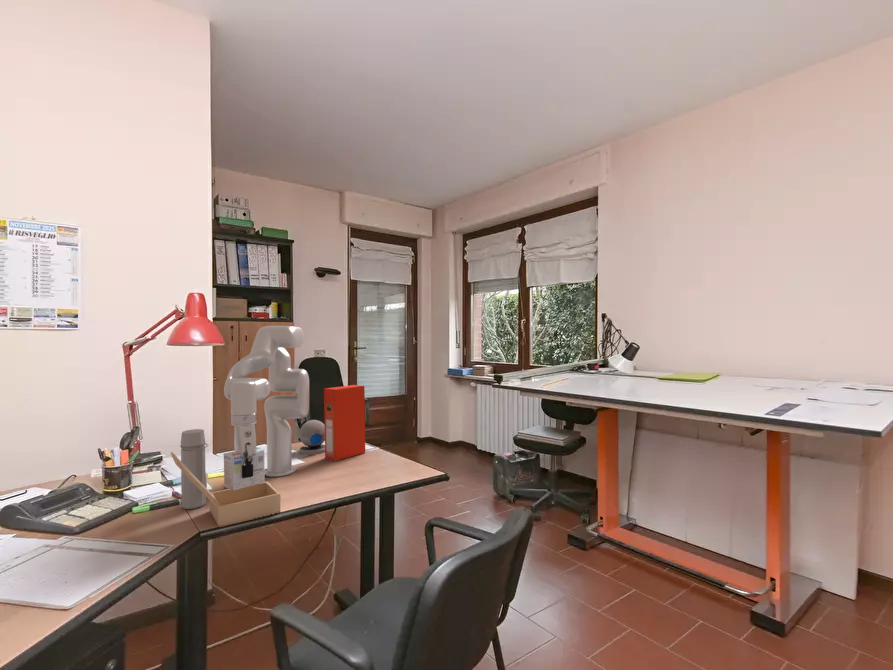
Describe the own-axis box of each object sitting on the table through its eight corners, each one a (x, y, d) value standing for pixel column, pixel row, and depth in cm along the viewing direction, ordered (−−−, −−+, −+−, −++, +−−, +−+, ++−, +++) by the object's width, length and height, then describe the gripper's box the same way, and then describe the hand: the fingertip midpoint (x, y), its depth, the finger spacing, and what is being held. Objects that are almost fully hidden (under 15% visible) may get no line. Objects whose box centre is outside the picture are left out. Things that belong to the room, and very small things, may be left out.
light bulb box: (255, 478, 151) (255, 446, 151) (265, 482, 147) (265, 449, 147) (222, 486, 143) (222, 452, 143) (232, 491, 139) (232, 456, 139)
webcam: (323, 446, 228) (323, 416, 228) (330, 452, 217) (330, 421, 216) (297, 449, 221) (296, 419, 221) (302, 456, 210) (302, 424, 210)
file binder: (324, 458, 206) (324, 388, 206) (354, 450, 220) (353, 384, 219) (335, 461, 201) (335, 389, 201) (365, 453, 215) (364, 385, 214)
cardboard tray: (209, 511, 146) (209, 492, 146) (267, 498, 157) (267, 481, 157) (218, 527, 134) (218, 507, 134) (280, 512, 145) (280, 493, 145)
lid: (209, 491, 146) (207, 493, 146) (171, 451, 140) (170, 453, 139) (218, 506, 134) (216, 507, 134) (177, 462, 128) (175, 464, 127)
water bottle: (175, 508, 148) (174, 432, 148) (196, 500, 156) (195, 428, 155) (195, 512, 145) (194, 435, 145) (216, 503, 152) (215, 429, 152)
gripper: (263, 422, 140) (263, 478, 140) (249, 414, 154) (250, 465, 154) (237, 425, 136) (237, 483, 136) (225, 416, 150) (226, 469, 150)
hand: (244, 473), depth 145 cm, fingers closed on light bulb box, 7 cm apart
